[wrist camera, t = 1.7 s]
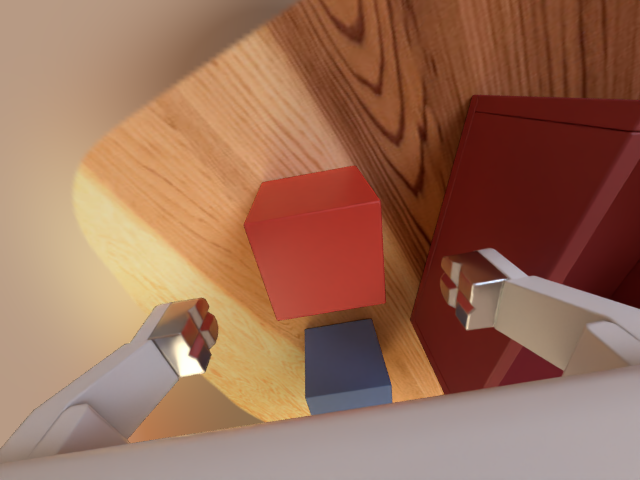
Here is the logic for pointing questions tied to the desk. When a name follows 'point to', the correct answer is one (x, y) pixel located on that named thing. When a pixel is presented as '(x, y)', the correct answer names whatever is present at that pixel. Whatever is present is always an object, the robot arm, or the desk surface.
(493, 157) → the red bin
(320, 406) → the blue block
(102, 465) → the robot arm
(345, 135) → the desk surface
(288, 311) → the red block
